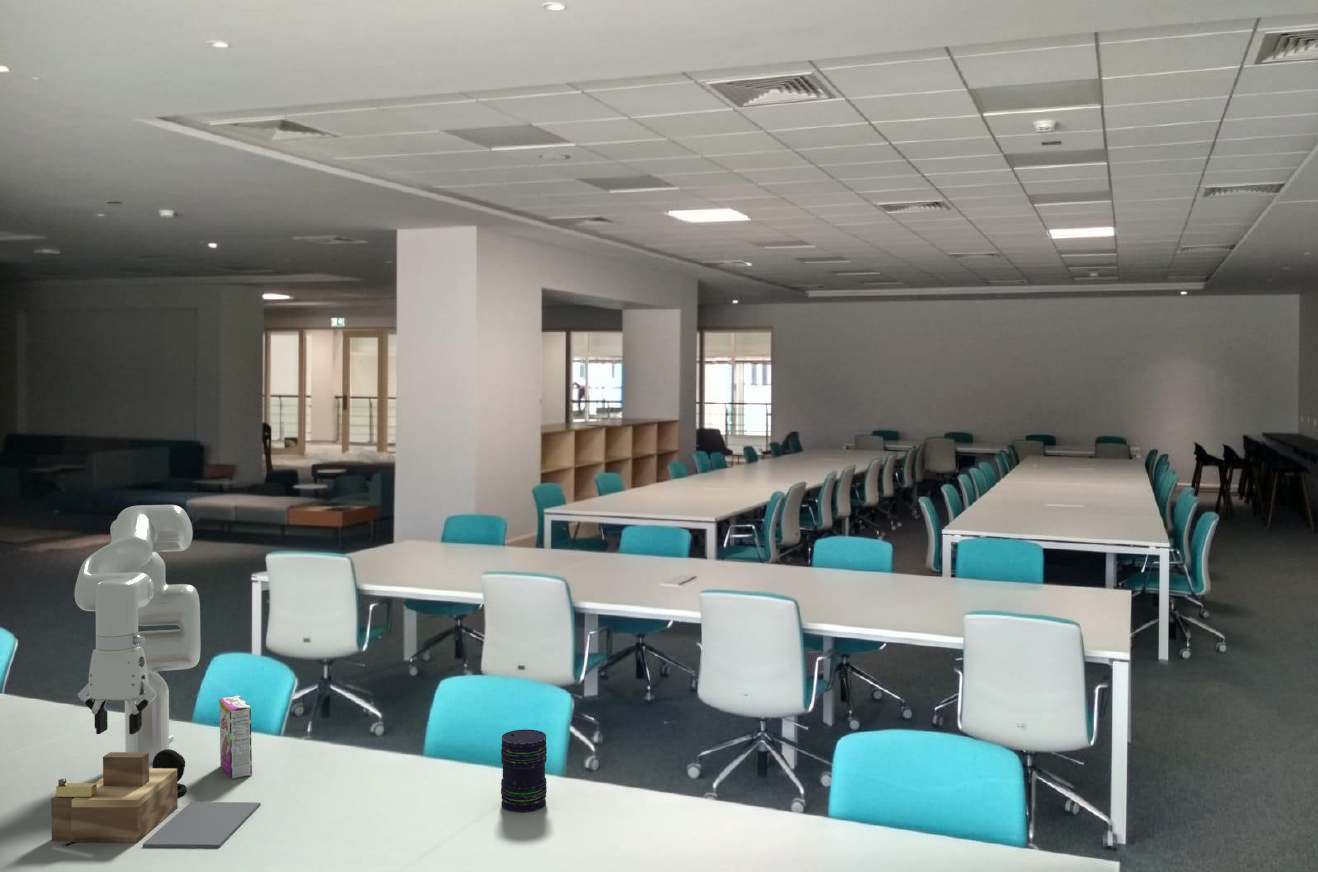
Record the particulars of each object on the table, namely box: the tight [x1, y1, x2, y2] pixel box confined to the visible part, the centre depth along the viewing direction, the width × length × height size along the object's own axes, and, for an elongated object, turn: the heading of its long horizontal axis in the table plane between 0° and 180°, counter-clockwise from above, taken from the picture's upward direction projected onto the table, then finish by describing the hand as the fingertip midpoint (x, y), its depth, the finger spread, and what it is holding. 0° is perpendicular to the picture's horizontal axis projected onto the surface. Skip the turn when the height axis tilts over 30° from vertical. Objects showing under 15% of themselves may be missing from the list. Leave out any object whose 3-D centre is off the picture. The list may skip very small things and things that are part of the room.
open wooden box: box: [50, 776, 179, 844], centre depth 225 cm, size 18×17×8 cm
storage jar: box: [500, 729, 548, 814], centre depth 238 cm, size 10×10×15 cm
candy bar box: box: [218, 695, 253, 780], centre depth 257 cm, size 11×5×16 cm, turn 34°
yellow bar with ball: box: [55, 778, 97, 797], centre depth 218 cm, size 2×7×3 cm, turn 90°
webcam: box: [152, 748, 188, 798], centre depth 242 cm, size 8×8×10 cm
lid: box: [72, 751, 177, 807], centre depth 225 cm, size 18×13×8 cm
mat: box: [142, 801, 262, 849], centre depth 225 cm, size 22×15×1 cm
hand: (118, 731), depth 218 cm, fingers open, 5 cm apart
